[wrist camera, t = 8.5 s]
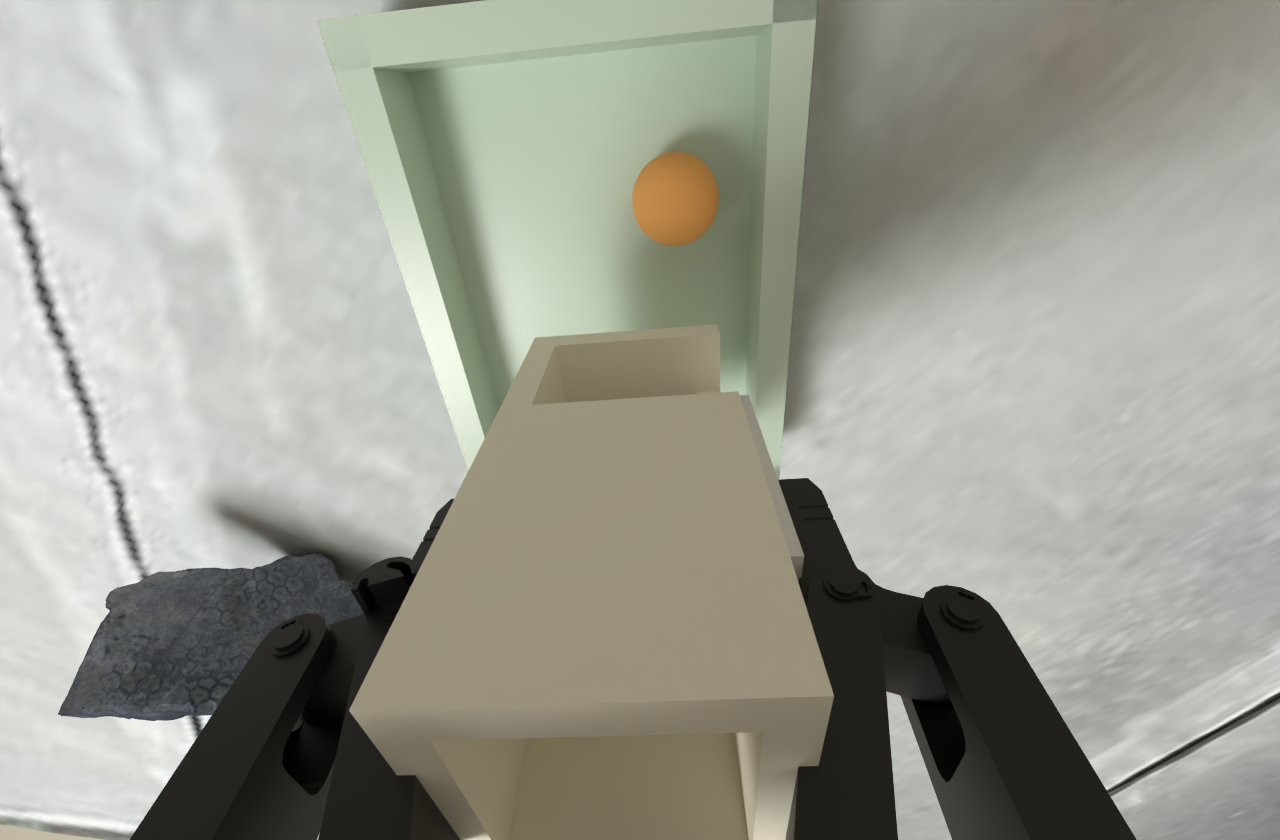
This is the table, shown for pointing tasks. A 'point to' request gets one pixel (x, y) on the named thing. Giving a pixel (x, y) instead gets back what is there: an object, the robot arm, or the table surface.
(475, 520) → the hollow box
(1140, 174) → the table surface
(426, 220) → the tray
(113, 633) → the stone
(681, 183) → the ball
